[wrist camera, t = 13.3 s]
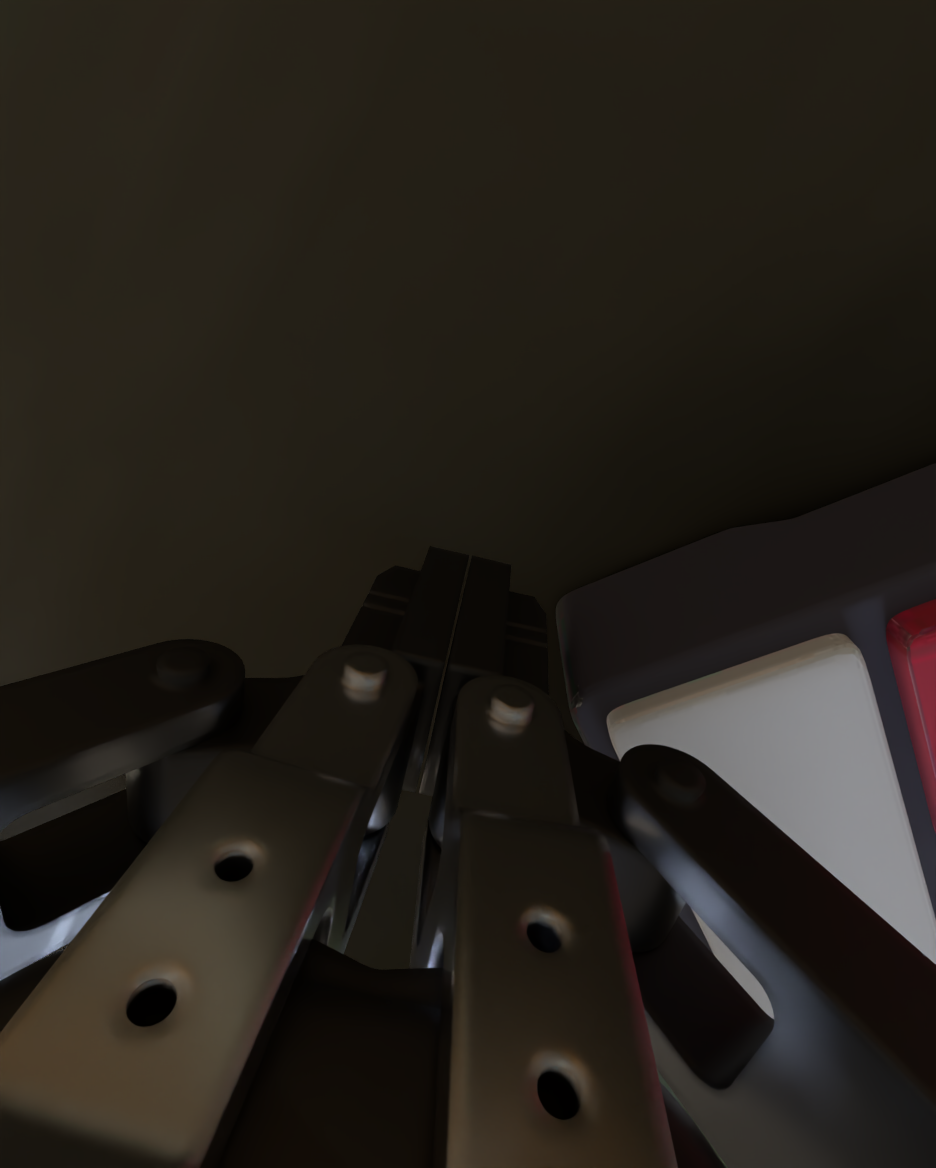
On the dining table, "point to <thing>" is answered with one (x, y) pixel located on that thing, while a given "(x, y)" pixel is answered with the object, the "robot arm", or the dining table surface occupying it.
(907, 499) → the black square box
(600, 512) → the dining table surface
